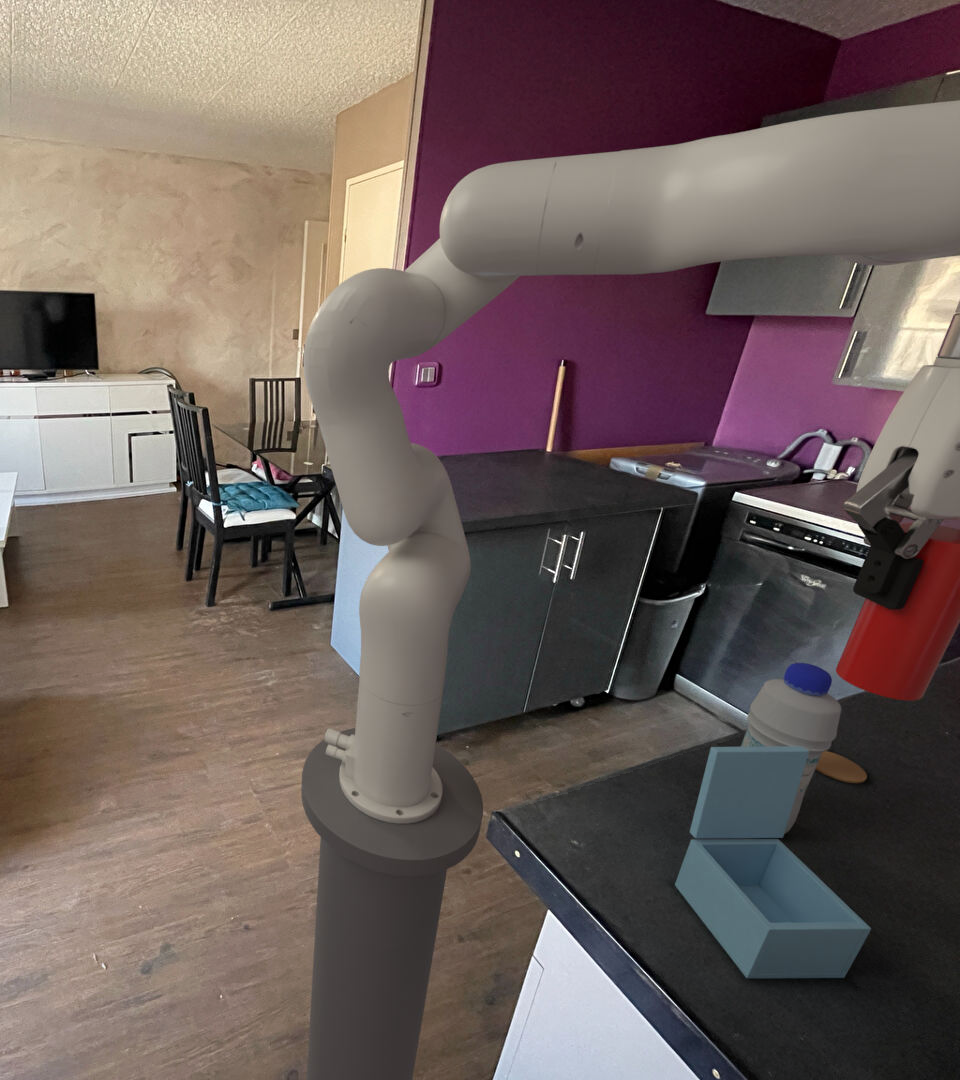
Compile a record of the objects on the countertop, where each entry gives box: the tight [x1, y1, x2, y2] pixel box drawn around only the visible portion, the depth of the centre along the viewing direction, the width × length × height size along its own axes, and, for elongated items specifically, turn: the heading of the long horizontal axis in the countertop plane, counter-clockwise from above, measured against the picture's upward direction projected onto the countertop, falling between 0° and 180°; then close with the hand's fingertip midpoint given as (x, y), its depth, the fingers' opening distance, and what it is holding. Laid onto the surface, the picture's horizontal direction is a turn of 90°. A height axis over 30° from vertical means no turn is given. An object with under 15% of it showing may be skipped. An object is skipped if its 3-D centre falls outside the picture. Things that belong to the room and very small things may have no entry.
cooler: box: [674, 838, 872, 979], centre depth 53 cm, size 9×8×6 cm
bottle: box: [740, 662, 842, 835], centre depth 62 cm, size 7×7×20 cm
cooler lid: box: [689, 746, 809, 839], centre depth 54 cm, size 10×8×1 cm
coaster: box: [815, 750, 868, 784], centre depth 73 cm, size 6×6×1 cm
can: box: [835, 522, 960, 701], centre depth 43 cm, size 5×5×12 cm
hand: (915, 599), depth 43 cm, fingers closed on can, 4 cm apart
